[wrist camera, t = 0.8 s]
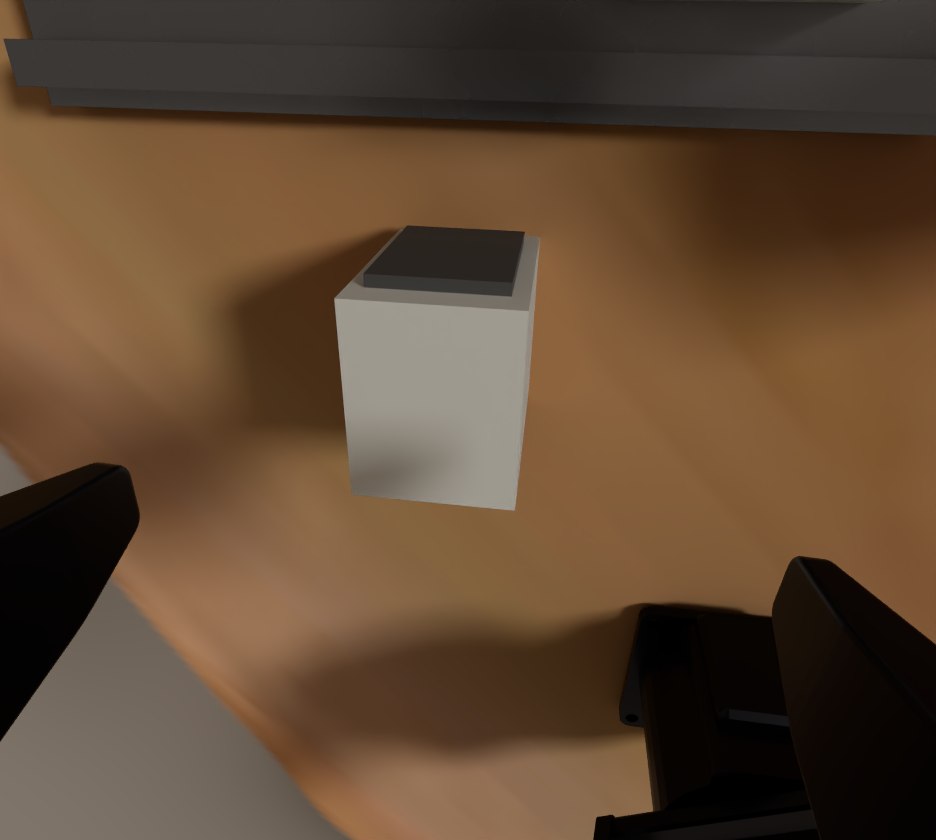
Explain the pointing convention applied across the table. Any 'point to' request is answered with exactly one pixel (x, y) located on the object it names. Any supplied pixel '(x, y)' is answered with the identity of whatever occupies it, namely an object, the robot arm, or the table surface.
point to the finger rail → (498, 60)
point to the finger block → (439, 365)
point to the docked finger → (824, 0)
